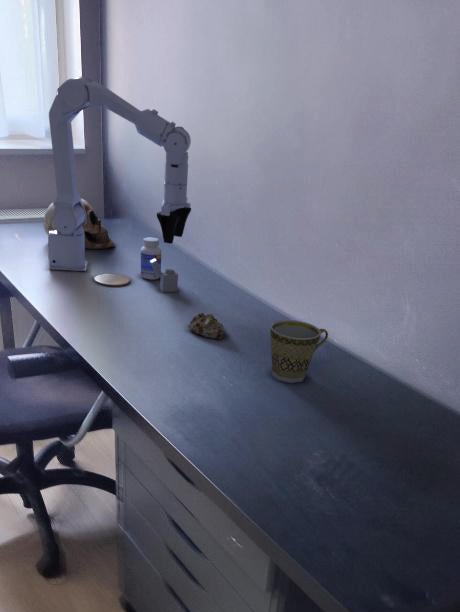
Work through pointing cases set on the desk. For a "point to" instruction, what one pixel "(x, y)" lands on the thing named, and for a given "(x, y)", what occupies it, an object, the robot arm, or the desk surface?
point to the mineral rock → (207, 326)
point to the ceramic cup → (293, 348)
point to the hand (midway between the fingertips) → (173, 239)
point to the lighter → (166, 278)
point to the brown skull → (84, 227)
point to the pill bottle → (150, 257)
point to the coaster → (112, 279)
